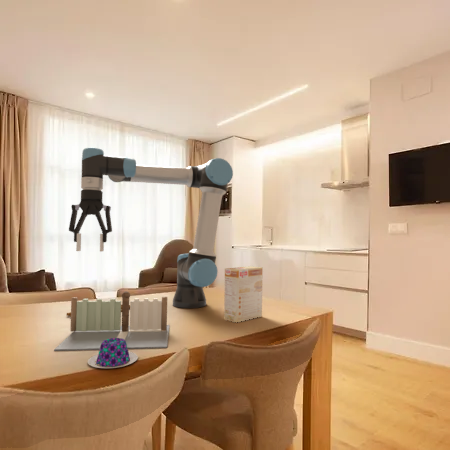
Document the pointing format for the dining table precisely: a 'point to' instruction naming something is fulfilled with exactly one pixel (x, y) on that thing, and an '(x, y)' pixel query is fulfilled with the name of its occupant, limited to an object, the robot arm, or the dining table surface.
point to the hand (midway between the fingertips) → (90, 251)
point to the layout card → (132, 337)
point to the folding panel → (95, 315)
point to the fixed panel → (148, 314)
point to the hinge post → (125, 311)
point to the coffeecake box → (243, 293)
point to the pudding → (113, 354)
